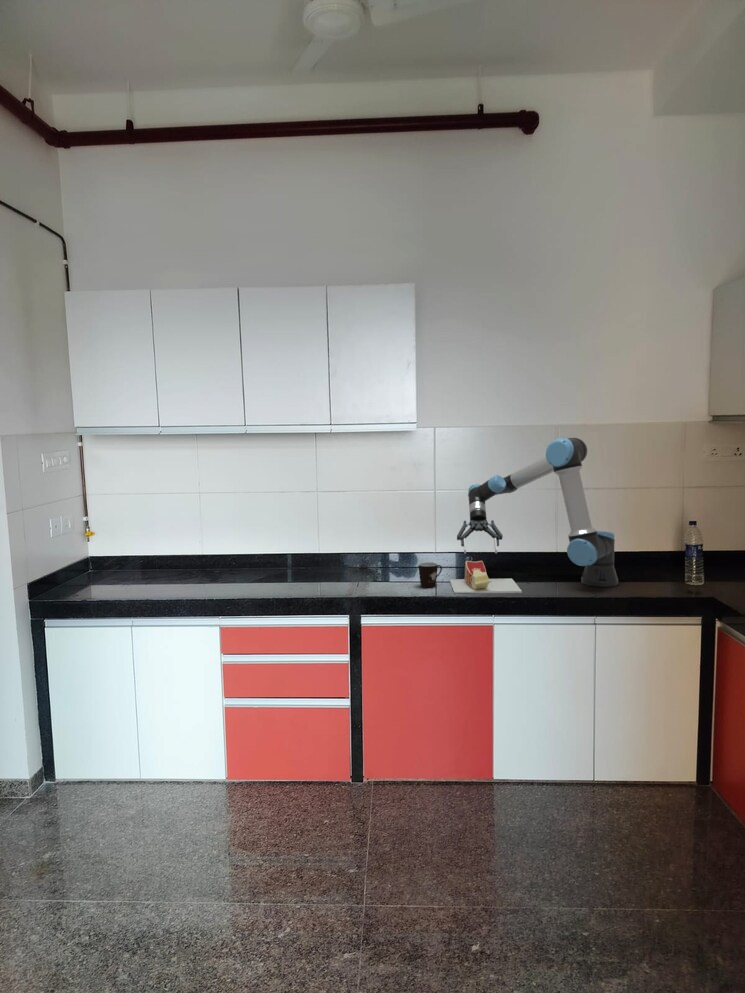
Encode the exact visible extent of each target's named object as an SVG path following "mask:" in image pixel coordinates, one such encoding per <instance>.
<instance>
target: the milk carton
mask: <svg viewBox="0 0 745 993" xmlns="http://www.w3.org/2000/svg"><path fill="white" fill-rule="evenodd" d="M464 579H465V582H466V583H468V584H469V585H470V586H471V587H473V588H474V589H479V588H487V586H488V584H489V583H490V580H489V579H490V578H489V576H488V574H487V569H486V566H485V564H484V562H483V560H478V561H469V560H465V565H464ZM491 582H492V581H491Z"/></svg>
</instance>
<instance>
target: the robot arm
mask: <svg viewBox="0 0 745 993" xmlns="http://www.w3.org/2000/svg"><path fill="white" fill-rule="evenodd" d="M587 455H588V447H587V444H586V443H585V442H584V441H583V440H582V439H581V438H578V437H561V438H556V439H554V440H552V441H550V443H549V444H548V445H547V446H546V450H545V457H543V458H541V459H538V460H537V461H535V462H533V463H531V464H529V465H527V466H525V467H523V468H521V469H519V470H517V471H514V472H513V473H511V474H508V475H507V476H505V477H502V476H500V475H498V474H497V475H496V474H495V475H494V476H493V477H490V478H489V479H488V480H486V481H485V482H484V483H482V484H479V483H475V484H472V485H470V486H469V487H468V493H467V497H468V506H469V507H468V508H469V521H467V520H463V524H462V526H461V528H460V529H459V531H458V533H457V535H456V540H457V541H460V545H461V546H460V547H463V553H464V554H467V544H466V543H467V541H466V539H467V538H468V537H469V536H470V535H471V533H473V532H483V531H484V533H486V534H488V535H489V536H490V537H491V538H493V542H494V544H493V545H494V554H498V547H499V546H500V541H501V540H503V537H504V536H503V534H502V533H501V531H500V530H499V528H498V527H497V525H496V524H495V521H494V519H493V520H491V521H488V518H487V510H486V508H487V507H486V501H488V500H490V499H492V498H493V497H494V496H498V495H504V494H511V493H514V492H515V491H518V489H520V488H522V487H524V486H527V485H528V484H531V483H532V482H534V481H536V480H538V479H541V478H544V477H545V476H548V475H549V474H552V473H554V474H555V475H557V476H558V478H559V479H558V480H559V483H560V487H561V492H562V497H563V502H564V505H565V506H564V507H565V510H566V511H565V512H566V514H567V519H568V523H569V528H570V532H569V534H568V541H569V543H568V545H567V548H566V553H567V554H566V555H567V556H568V558H569V559H570V561H571V562H572V563H573V564H575V565H577V566H580V567H584V569H583V572H582V574H581V575H582V576H581V578H580V580H581V581H580V582H581V584H583V585H584V586H590V587H596V588H611V587H617V586H618V585H619V578H618V575H617V572H616V568H615V542H616V539H615V533H614V532H612V531H605V530H597V529H596V528H594V527H593V525H592V521H591V518H590V513H589V509H588V505H587V504H588V503H587V500H586V495H585V489H584V486H583V481H582V477H581V473H580V471H581V469H582V468H583V465H582V462H583V461H584V460H585V459H586V457H587ZM468 526H469V528H468V529H467V530H466V528H467V527H468Z"/></svg>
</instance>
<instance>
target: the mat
mask: <svg viewBox="0 0 745 993" xmlns="http://www.w3.org/2000/svg"><path fill="white" fill-rule="evenodd" d="M489 580H490V583H489V584H488V586H487V588H479V589H474V588H473V587H471V586H470V585H469V584H468V583H466V582H465V578H461V579H460V578H457V579H456V578H454V579H453V578H450V579H449V584H450V586H451V588H453V589H452V592H453V591H454V592H453V594H454V593H475V594H522V593H523V591H522V589H521V588H520V587H519V586H518V584H517V583H516V582H515V580H514V579H513V578H489ZM491 581H492V582H491Z"/></svg>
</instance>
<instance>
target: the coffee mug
mask: <svg viewBox="0 0 745 993" xmlns="http://www.w3.org/2000/svg"><path fill="white" fill-rule="evenodd" d="M417 566H418V576H419V582H420V588H422V587H423V588H422V589H426V588H431V589H434V588H433V587H435V588H436V585H437V578H438V577H439V576H440V574H441V573H442V570H443V568H442V565H441V564H438V563H437V562H429V561H427V562H426V561H425V562H420V563H418V564H417ZM438 567H440V568H439V569H440V570H439V572H438Z"/></svg>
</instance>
